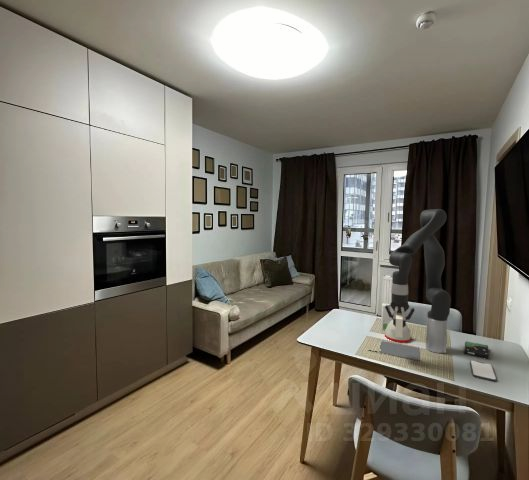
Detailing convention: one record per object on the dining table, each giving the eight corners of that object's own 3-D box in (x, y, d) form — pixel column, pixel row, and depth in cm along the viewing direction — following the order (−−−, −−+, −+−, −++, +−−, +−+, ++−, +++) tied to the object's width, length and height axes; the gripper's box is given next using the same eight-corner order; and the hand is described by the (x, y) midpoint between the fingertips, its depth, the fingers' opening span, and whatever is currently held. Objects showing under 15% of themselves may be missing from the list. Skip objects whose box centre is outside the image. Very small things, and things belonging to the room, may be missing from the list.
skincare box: (381, 329, 184) (382, 305, 183) (380, 326, 190) (381, 302, 189) (396, 331, 182) (397, 307, 180) (394, 327, 188) (395, 304, 187)
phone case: (497, 384, 125) (491, 367, 139) (497, 380, 125) (492, 364, 139) (472, 378, 130) (469, 362, 143) (472, 374, 130) (469, 359, 143)
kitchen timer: (386, 331, 181) (387, 308, 180) (411, 336, 174) (412, 312, 173) (383, 339, 169) (384, 314, 168) (409, 345, 162) (410, 318, 161)
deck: (402, 329, 149) (403, 312, 146) (402, 337, 143) (402, 319, 140) (396, 329, 150) (396, 311, 147) (395, 336, 144) (395, 318, 141)
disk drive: (489, 360, 146) (487, 349, 158) (489, 355, 146) (488, 345, 158) (464, 355, 152) (464, 345, 164) (464, 350, 152) (464, 340, 164)
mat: (418, 348, 158) (418, 347, 158) (419, 361, 144) (419, 360, 144) (371, 339, 169) (371, 339, 169) (368, 350, 154) (368, 350, 154)
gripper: (415, 292, 145) (414, 326, 146) (385, 289, 151) (384, 322, 152) (416, 295, 138) (415, 331, 139) (384, 292, 144) (383, 326, 145)
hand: (399, 326), depth 146 cm, fingers closed on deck, 3 cm apart
